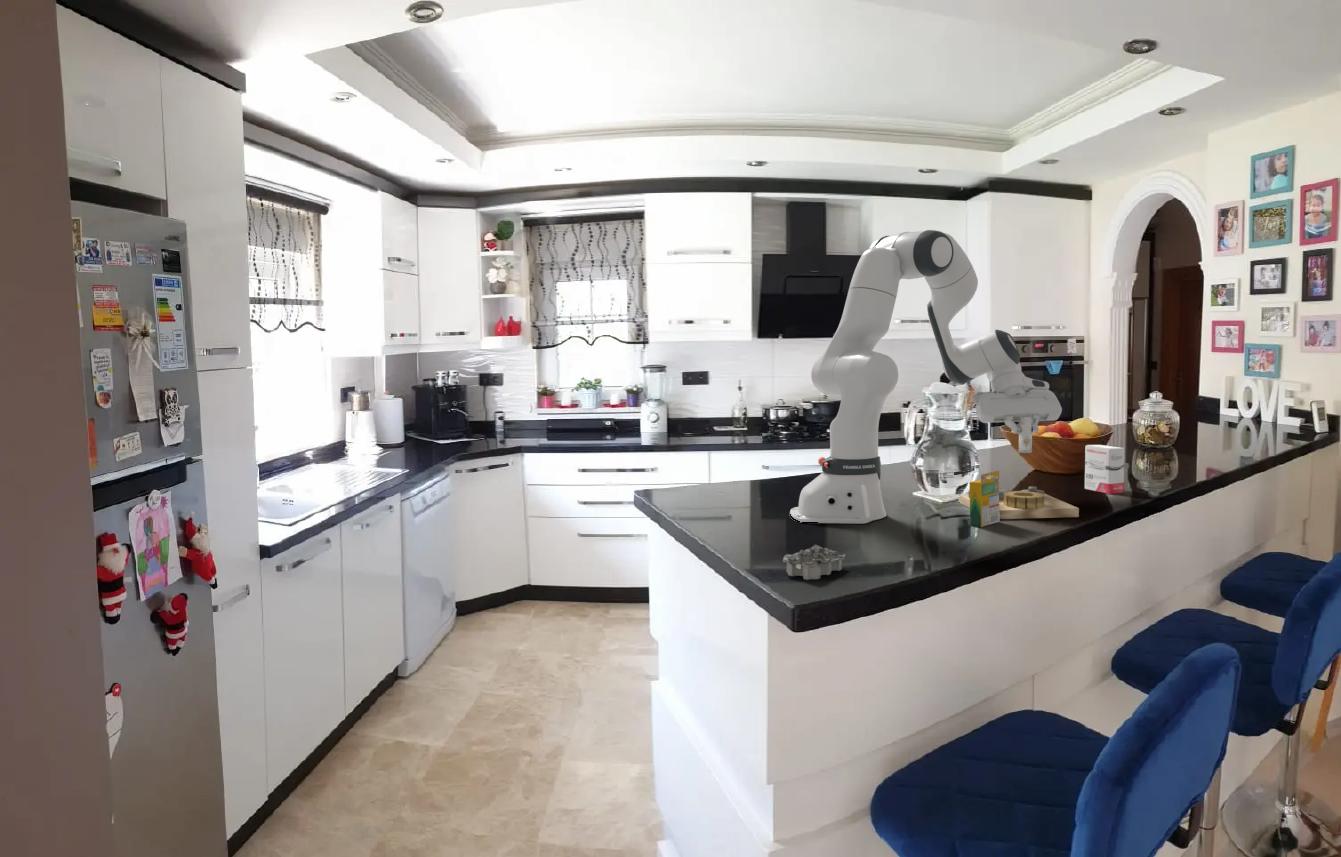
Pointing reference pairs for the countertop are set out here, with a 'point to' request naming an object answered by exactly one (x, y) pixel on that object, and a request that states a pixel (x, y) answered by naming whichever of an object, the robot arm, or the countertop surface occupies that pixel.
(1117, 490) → the ink box
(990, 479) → the crayon box
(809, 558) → the egg carton
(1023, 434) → the input shaft
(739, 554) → the countertop surface
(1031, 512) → the gear board
